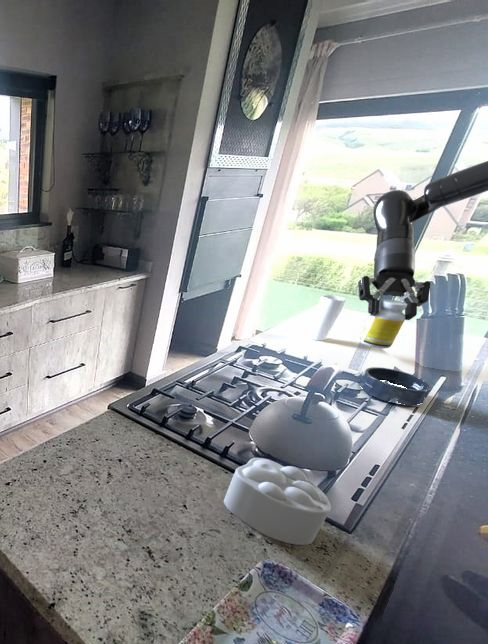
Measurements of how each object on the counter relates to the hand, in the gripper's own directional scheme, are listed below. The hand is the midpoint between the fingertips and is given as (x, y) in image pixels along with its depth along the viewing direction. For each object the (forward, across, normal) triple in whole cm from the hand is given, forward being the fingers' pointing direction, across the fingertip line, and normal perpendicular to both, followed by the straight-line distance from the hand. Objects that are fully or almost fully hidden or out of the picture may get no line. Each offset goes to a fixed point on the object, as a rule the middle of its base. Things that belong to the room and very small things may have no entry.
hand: (391, 316), depth 102 cm
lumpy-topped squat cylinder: (+60, -31, -30) cm, 74 cm away
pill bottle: (+5, 0, +7) cm, 9 cm away
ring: (+15, +7, +14) cm, 22 cm away
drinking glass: (-13, 0, +43) cm, 45 cm away
